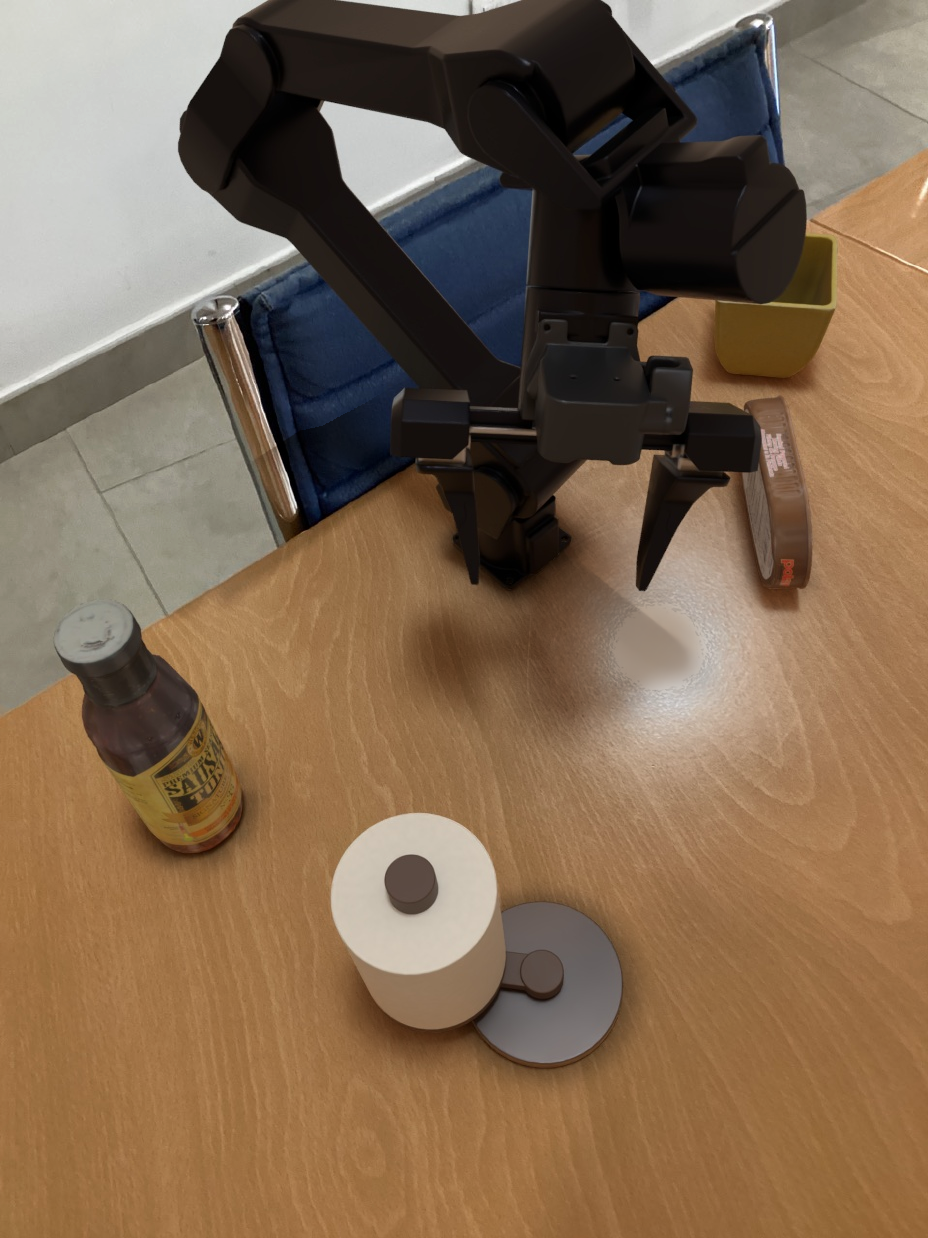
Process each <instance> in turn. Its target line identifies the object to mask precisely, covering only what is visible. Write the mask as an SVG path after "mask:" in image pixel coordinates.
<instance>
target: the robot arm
mask: <svg viewBox="0 0 928 1238" xmlns="http://www.w3.org/2000/svg"><path fill="white" fill-rule="evenodd" d="M676 90H677V89H676V88H675V87H674V86H673V85H672V84H670V82H668V81H667V80H666V78H665V77H664V76H663V75H662V73H660V71H658V69H657V67H655V65H653V64H652V62H651V61H650V60H649V59H648V57H647V56H646V55H645V54H644V53H643V51H642V50H641V49H640V48H639V47H638V45H637V44H636V43H635V42H634V41H633V39H631V37H630V36H629V35H628V34H627V32H626V31H625V30H624V29H623V27H622V26H621V25H620V24H619V22H618V21H617V20H616V18H614V16H613V9H612V7H611V6H610V5H609V4H608V3H607V2H605V1H603V0H516V1H514V2H511V3H507V4H505V5H500V6H497V7H495V8H492V9H488V10H484V11H481V12H478V13H472V14H464V15H456V14H449V13H441V12H433V11H425V10H418V9H409V8H402V7H396V6H395V7H394V6H387V5H379V4H371V3H363V2H356V1H348V0H266V1H264V2H263V3H260V4H259V5H257V6H256V7H254V8H252V9H251V10H249V11H247V12H246V13H244V14H242V15H241V16H238V18H236V19H235V21H234V22H233V23H232V26H231V28H230V29H229V30H228V32H227V33H226V35H225V38H224V40H223V44H222V47H221V51H220V55H219V57H218V59H217V60H216V62H215V63H214V65H213V66H212V68H211V69H210V70H209V72H208V74H207V75H206V76H205V78H204V80H203V81H202V83H201V84H200V86H199V87H198V89H197V90H196V92H195V93H194V94H193V96H192V98H191V99H190V101H189V103H188V105H187V107H186V110H184V111H183V112H182V114H181V116H180V117H179V128H178V129H179V137H178V140H177V153H178V156H179V159H180V162H181V164H182V167H183V168H184V170H185V172H186V173H187V175H188V176H189V178H190V179H191V180H192V182H193V183H195V185H196V186H197V187H199V188H200V190H202V191H204V192H206V193H208V195H210V196H211V197H212V198H213V199H214V200H215V201H216V202H217V203H218V204H219V205H220V206H221V207H222V208H224V209H225V210H226V211H227V212H228V214H230V215H231V216H232V217H233V218H234V219H235V220H236V221H237V222H239V223H241V224H244V225H246V226H249V227H252V228H255V229H258V230H261V231H264V232H267V233H270V234H272V235H275V236H278V237H281V238H284V239H286V240H287V241H288V242H289V243H291V245H292V246H293V247H294V248H295V249H296V250H297V251H298V253H299V254H300V255H301V256H302V257H303V258H304V259H305V261H307V262H308V264H309V265H310V266H311V268H313V270H314V271H315V272H316V273H317V274H318V275H319V276H320V277H321V279H322V280H323V281H324V282H325V283H326V284H327V286H329V288H330V289H331V290H332V291H333V292H334V293H335V294H336V296H338V298H339V299H340V300H341V301H342V302H343V304H345V306H346V308H348V309H349V310H350V312H351V313H352V314H353V315H354V316H355V317H356V318H357V319H358V321H359V322H360V323H361V324H362V325H363V326H364V327H365V328H366V329H367V331H368V332H369V333H370V334H371V335H372V336H373V337H374V339H375V340H376V341H377V342H378V343H379V344H380V345H381V347H382V348H383V349H384V350H385V351H386V352H387V353H388V354H389V356H390V357H391V358H392V359H393V360H394V361H395V363H396V364H397V365H399V367H400V368H401V369H402V370H403V371H404V373H405V374H407V376H408V377H409V378H410V379H411V380H412V381H413V383H414V384H415V385H416V386H417V387H403V389H402V390H401V391H399V392H398V393H397V394H396V396H394V397H393V401H392V405H391V413H390V415H391V416H390V439H389V440H390V441H389V443H390V444H389V455H390V456H394V457H398V458H407V459H415V466H414V469H415V472H416V473H418V474H421V475H431V476H433V477H435V478H436V481H437V483H438V484H437V485H435V489H436V492H437V494H438V497H439V499H440V501H441V503H442V506H443V508H444V509H445V511H447V512H448V513H451V515H452V518H453V521H454V524H455V528H456V531H457V532H456V533H454V535H452V537H451V538H452V545H454V546H455V547H456V548H457V549H458V550H459V551H460V552H461V553H462V554H463V559H464V562H465V566H466V570H467V573H468V578H469V581H470V585H472V586H478V585H479V579H480V570H483V571H484V572H485V573H486V574H487V575H489V577H491V578H492V579H493V580H494V581H496V582H497V583H498V584H499V585H500V586H501V587H503V588H504V589H506V590H509V591H510V590H514V589H516V588H517V587H519V585H521V584H522V583H524V581H526V580H527V579H529V578H530V577H531V576H533V575H536V574H537V573H539V572H540V571H541V570H543V569H544V568H545V567H546V566H548V565H549V564H551V563H552V562H553V561H555V559H557V558H558V557H559V556H560V554H561V553H562V552H564V551H565V550H566V549H567V548H568V547H570V546H571V545H572V536H571V535H570V533H568V532H567V531H565V530H564V529H563V528H561V527H560V525H559V524H560V523H559V522H560V520H559V518H558V517H557V497H556V496H555V494H556V492H557V491H559V490H560V488H561V487H562V486H563V485H564V484H565V483H566V482H568V480H569V479H570V478H571V477H572V476H573V475H574V474H575V473H576V472H577V471H578V470H579V469H580V468H581V467H582V466H583V465H584V464H585V463H586V462H587V461H602V462H609V463H610V464H611V465H613V466H630V465H633V464H635V463H637V462H638V461H639V460H640V459H641V455H642V450H643V451H661V452H663V451H664V454H653V456H652V463H651V468H650V473H649V474H650V475H649V481H648V487H647V492H646V498H645V505H644V511H643V517H642V522H641V523H642V524H641V529H640V535H639V540H638V541H639V542H638V547H637V554H636V566H635V587H636V589H637V590H638V592H646V591H647V590H648V588H649V587H650V584H651V582H652V579H653V578H654V577H655V574H656V572H657V570H658V569H659V566H660V564H661V562H662V560H663V558H664V556H665V555H666V551H668V550H667V549H668V548H669V546H670V544H671V542H672V540H673V538H674V536H675V533H676V532H677V530H678V528H679V527H680V525H681V524H682V522H683V520H684V519H685V517H686V516H687V514H688V513H689V511H690V509H691V508H692V506H693V505H694V504H695V503H696V502H697V501H698V500H699V499H700V498H701V497H702V496H703V495H704V494H705V493H707V492H708V491H709V490H710V489H712V488H725V487H727V486H728V485H729V483H730V481H731V476H730V475H728V474H727V473H741V472H744V473H751V472H755V471H758V465H759V458H760V451H761V444H762V435H761V427H760V425H759V424H758V422H757V421H756V420H755V418H754V417H753V415H751V414H749V413H747V412H745V411H744V409H741V408H740V407H738V406H736V405H734V404H732V403H730V402H722V401H721V402H719V401H718V402H717V401H698V400H691V399H692V398H691V397H692V387H693V378H694V377H693V375H694V368H693V366H692V363H691V361H690V358H689V357H687V356H672V355H650V356H648V358H647V360H646V361H641V357H640V352H639V347H638V341H639V318H640V316H639V309H640V299H641V292H647V293H649V294H651V295H654V296H655V295H656V296H660V297H661V296H663V297H674V298H686V299H695V300H708V301H715V300H718V301H729V302H741V303H752V304H766V303H770V302H772V301H774V300H775V299H777V298H778V297H779V296H780V295H781V294H782V293H783V292H784V291H785V289H786V288H787V286H788V285H789V283H790V282H791V280H792V278H793V276H794V274H795V272H796V270H797V267H798V265H799V261H800V258H801V255H802V252H803V247H804V241H805V236H806V233H807V223H808V215H807V214H808V213H807V212H808V211H807V200H806V199H807V198H806V193H805V191H804V190H805V189H801V188H800V187H799V184H798V182H797V179H796V177H795V176H794V173H792V171H791V170H790V168H788V167H787V166H785V165H784V164H782V163H778V162H771V160H770V159H771V158H770V153H769V146H768V140H767V138H765V136H764V135H761V134H759V135H758V134H757V135H756V134H755V135H740V136H739V135H738V136H734V137H731V138H728V139H726V140H719V141H715V140H713V141H683V142H681V140H683V138H685V137H686V136H687V135H689V133H690V132H692V131H694V129H695V128H696V127H697V125H698V118H697V116H696V114H695V113H694V112H693V111H692V109H691V108H690V107H689V106H688V105H687V103H686V102H685V101H684V100H683V99H682V97H681V96H680V95H679V94H678V93H677V92H676ZM325 102H328V103H332V104H336V105H337V104H338V105H342V106H347V107H352V108H355V109H356V108H357V109H361V110H366V111H371V112H374V113H375V112H376V113H380V114H385V115H391V116H395V117H400V118H405V119H410V120H414V121H419V122H425V123H428V124H430V125H433V126H435V127H438V128H440V129H443V130H444V131H445V132H446V134H447V135H448V136H449V138H450V140H451V141H452V142H453V144H454V145H455V147H456V148H457V150H458V151H459V153H460V154H461V155H463V156H465V157H467V158H469V159H471V160H473V161H476V162H478V163H480V164H483V165H485V166H487V167H489V168H493V170H494V169H495V170H497V171H499V172H501V173H500V175H499V179H498V180H499V185H500V186H501V187H502V188H504V189H511V190H520V191H530V192H531V194H532V195H531V205H530V221H529V237H528V250H527V251H528V253H527V266H526V280H525V281H526V282H525V285H526V286H525V293H524V294H525V296H524V310H523V327H522V340H521V356H520V366H519V365H516V364H512V363H509V362H507V361H503V360H500V359H499V358H498V357H497V356H495V355H494V353H493V352H492V351H491V350H490V349H489V348H488V347H487V345H485V343H484V342H483V341H482V340H481V339H480V337H479V336H478V335H477V334H476V333H475V332H474V330H473V329H472V328H471V327H470V326H469V325H468V324H467V323H466V321H465V320H464V319H463V318H462V316H461V315H460V314H459V313H458V312H457V311H456V310H455V309H454V307H453V306H452V305H451V304H450V303H449V302H448V300H447V299H446V298H445V297H444V296H443V295H442V294H441V293H440V291H439V290H438V289H437V288H436V287H435V285H434V284H433V283H432V282H431V281H430V280H429V279H428V277H427V276H426V275H425V274H424V272H422V270H421V269H420V268H419V267H418V266H417V265H416V264H415V262H414V261H413V260H412V258H411V257H409V255H408V254H407V253H406V252H405V250H403V248H401V246H400V245H399V243H398V242H397V241H396V240H395V239H394V238H393V237H392V235H391V234H390V233H389V232H388V231H387V230H386V229H385V228H384V226H383V225H382V224H381V223H380V222H379V221H378V219H377V218H376V217H375V216H374V215H373V214H372V213H371V212H370V211H369V209H368V208H367V207H366V205H365V204H364V203H363V202H362V201H361V200H360V199H359V198H358V197H357V196H356V194H355V193H354V192H353V190H352V189H351V188H350V187H349V186H348V185H347V182H345V180H344V178H343V174H342V169H341V164H340V158H339V153H338V149H337V144H336V140H335V135H334V131H333V128H332V127H331V125H330V124H329V122H328V121H327V119H326V118H325V116H324V115H323V114H322V113H321V110H322V108H323V106H324V103H325ZM621 114H622V115H624V116H626V117H627V118H629V119H630V120H631V121H630V122H629V123H627V124H626V125H625V126H624V127H623V128H621V130H619V131H618V132H617V133H616V134H614V135H613V136H612V137H611V138H610V139H608V140H607V141H606V142H605V143H603V145H601V146H599V147H598V148H597V149H596V150H595V151H593V153H592V154H574V153H576V152H577V151H578V150H579V149H581V148H582V147H583V146H585V145H586V144H587V143H588V142H589V141H590V140H592V139H593V138H595V136H596V135H598V134H599V133H600V132H602V131H603V130H604V129H605V128H607V127H608V126H609V125H610V124H612V123H613V122H614V121H615V120H616V119H618V118H619V116H621ZM508 582H510V583H508Z"/></svg>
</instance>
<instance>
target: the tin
mask: <svg viewBox="0 0 928 1238" xmlns="http://www.w3.org/2000/svg"><path fill="white" fill-rule="evenodd" d="M743 411H745V412H747V413H749V414H751V415H753V417H754V418H755V420H756V421H757V422H758V424H759V425H760V427H761V435H762V444H761V451H760V458H759V465H758V471H755V472H751V473H744V472H740V477H741V483H742V489H743V496H744V500H745V501H744V502H745V508H746V513H747V520H748V526H749V531H750V537H751V542H752V548H753V552H754V556H755V557H754V558H755V562H756V567H757V572H758V575H759V578H760V581H761V583H762V585H763V587H765V588H766V589H769V590H787V589H800V590H804V589H805V588H806V587H807V586H808V584H809V582H810V578H811V574H812V573H811V572H812V565H813V549H814V548H813V541H814V539H813V522H812V512H811V504H810V497H809V492H808V487H807V483H806V478H805V474H804V471H803V465H802V461H801V455H800V453H799V448H798V443H797V439H796V434H795V429H794V426H793V421H792V416H791V413H790V412H791V411H790V408H789V405H788V402H787V399H786V398H785V396H783V395H777V396H775V397H766V398H755V399H750V400H747V401H746V402H745V403H744V404H743Z"/></svg>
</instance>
